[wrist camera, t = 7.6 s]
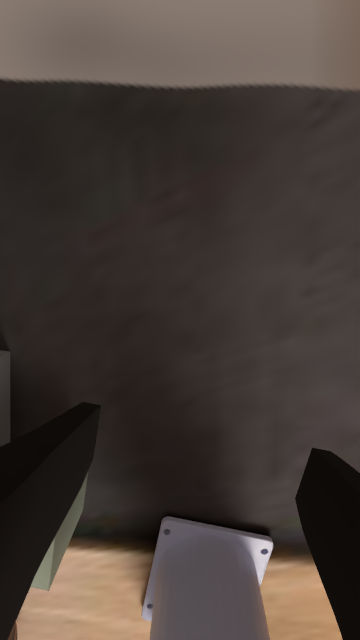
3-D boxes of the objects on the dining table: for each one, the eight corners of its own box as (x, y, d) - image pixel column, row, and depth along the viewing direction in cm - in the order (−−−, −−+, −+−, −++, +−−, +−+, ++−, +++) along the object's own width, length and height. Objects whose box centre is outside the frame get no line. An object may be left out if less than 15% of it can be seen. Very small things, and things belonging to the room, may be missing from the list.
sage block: (82, 509, 23) (48, 590, 17) (22, 497, 23) (-31, 575, 17) (90, 456, 22) (56, 525, 16) (27, 444, 22) (-28, 508, 16)
